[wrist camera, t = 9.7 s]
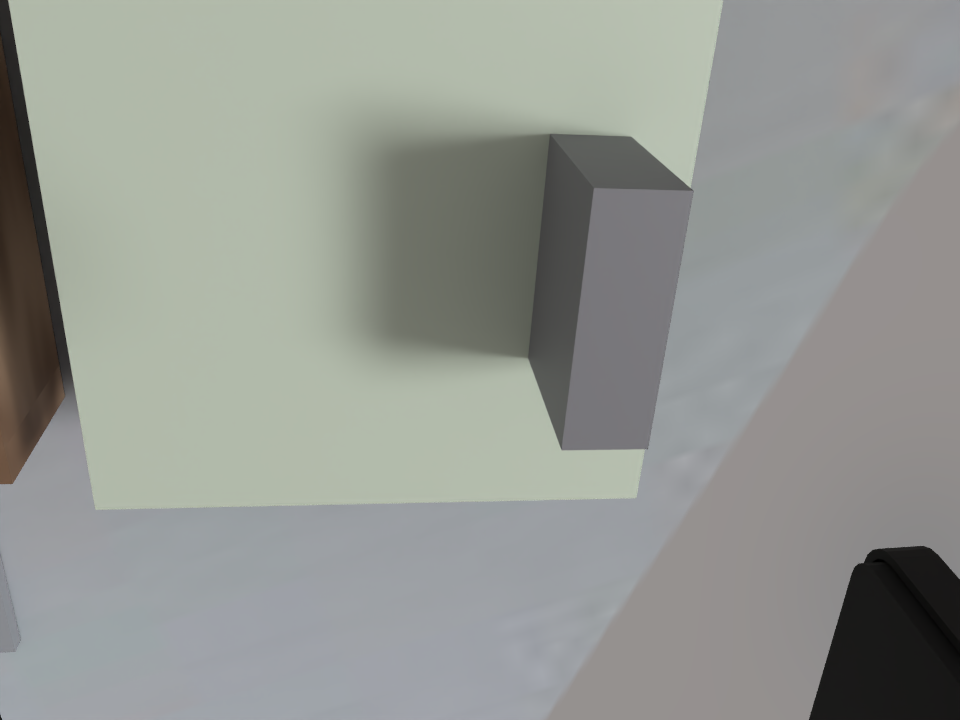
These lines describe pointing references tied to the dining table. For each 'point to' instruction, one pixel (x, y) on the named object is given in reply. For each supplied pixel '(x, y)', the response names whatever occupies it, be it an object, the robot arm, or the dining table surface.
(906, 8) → the dining table surface
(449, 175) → the lid
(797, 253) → the dining table surface
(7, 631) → the pad
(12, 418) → the board
